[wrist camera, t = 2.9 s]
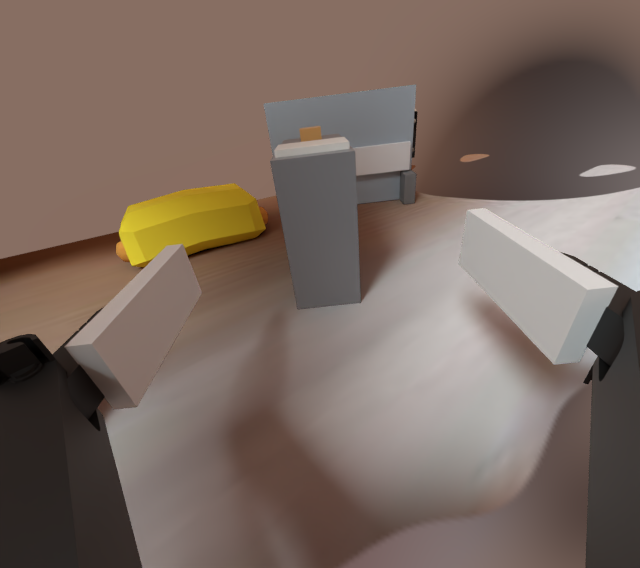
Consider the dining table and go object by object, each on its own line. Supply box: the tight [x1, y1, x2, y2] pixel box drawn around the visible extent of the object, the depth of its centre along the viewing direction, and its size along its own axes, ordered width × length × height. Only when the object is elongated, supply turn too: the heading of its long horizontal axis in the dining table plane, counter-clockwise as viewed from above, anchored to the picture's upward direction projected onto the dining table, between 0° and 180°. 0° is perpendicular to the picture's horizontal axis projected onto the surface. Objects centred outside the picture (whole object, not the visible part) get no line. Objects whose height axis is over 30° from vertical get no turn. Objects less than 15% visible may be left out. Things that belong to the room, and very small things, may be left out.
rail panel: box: [264, 85, 417, 204], centre depth 39 cm, size 19×4×14 cm, turn 92°
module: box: [270, 126, 361, 309], centre depth 24 cm, size 5×11×12 cm, turn 2°
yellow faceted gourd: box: [116, 184, 268, 267], centre depth 35 cm, size 18×7×8 cm
